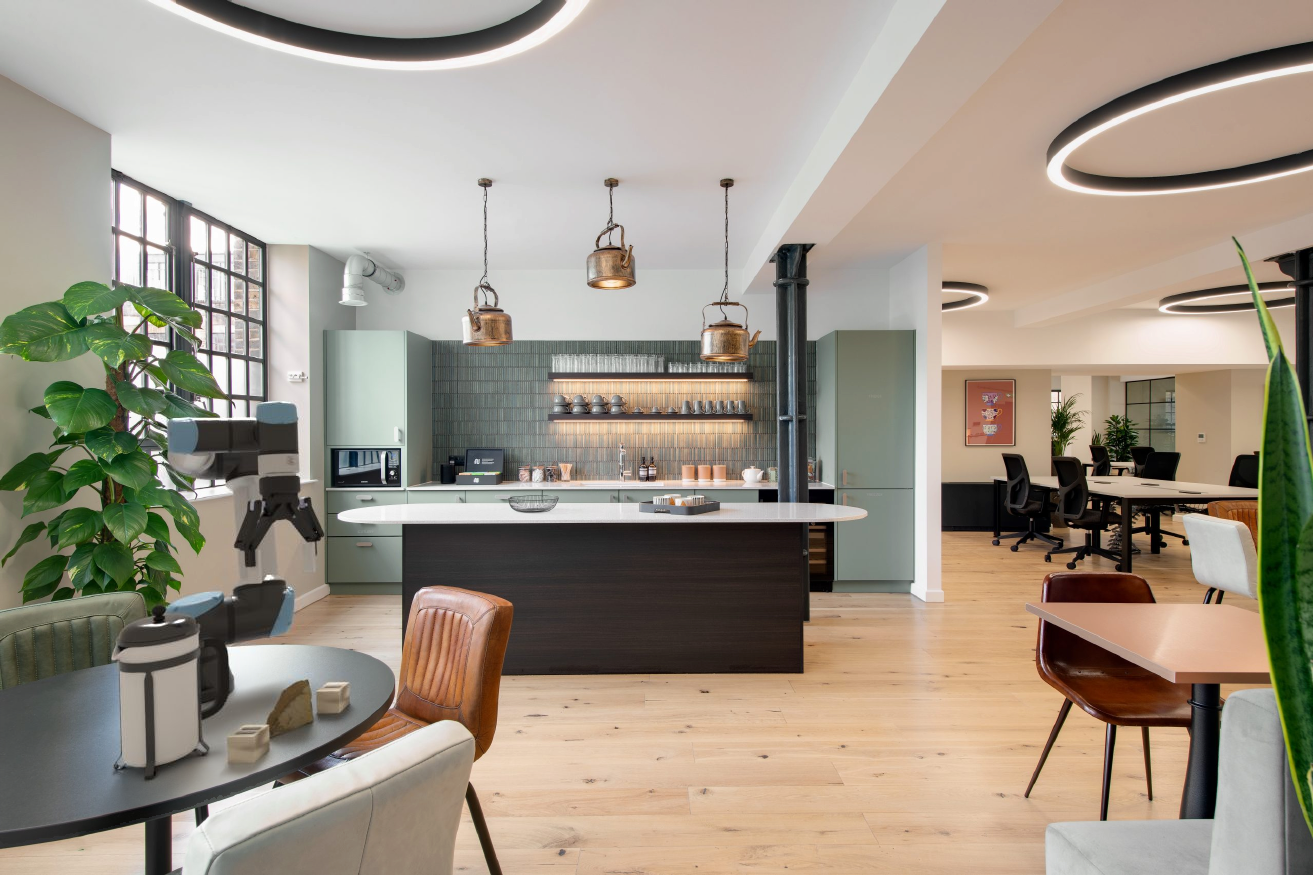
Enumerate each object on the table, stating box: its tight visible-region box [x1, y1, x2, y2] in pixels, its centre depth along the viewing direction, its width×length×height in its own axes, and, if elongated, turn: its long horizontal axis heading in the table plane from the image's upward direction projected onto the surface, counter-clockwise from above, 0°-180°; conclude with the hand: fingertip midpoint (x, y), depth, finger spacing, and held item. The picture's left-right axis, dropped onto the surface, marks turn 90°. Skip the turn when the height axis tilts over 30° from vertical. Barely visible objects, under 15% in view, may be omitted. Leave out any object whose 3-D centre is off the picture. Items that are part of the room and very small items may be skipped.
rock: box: [265, 678, 314, 739], centre depth 138 cm, size 11×9×10 cm
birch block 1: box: [226, 724, 271, 764], centre depth 126 cm, size 5×5×5 cm
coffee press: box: [111, 604, 230, 781], centre depth 126 cm, size 17×16×30 cm
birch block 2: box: [315, 681, 351, 714], centre depth 147 cm, size 5×5×5 cm
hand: (283, 577), depth 136 cm, fingers open, 13 cm apart
